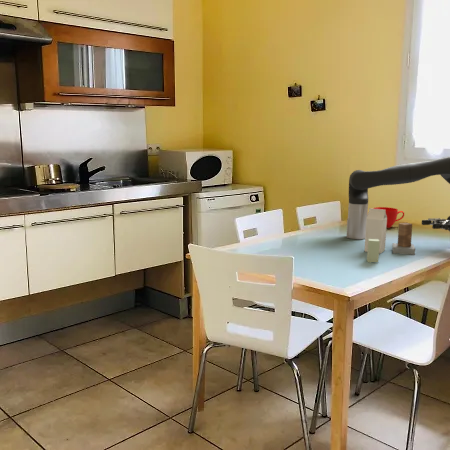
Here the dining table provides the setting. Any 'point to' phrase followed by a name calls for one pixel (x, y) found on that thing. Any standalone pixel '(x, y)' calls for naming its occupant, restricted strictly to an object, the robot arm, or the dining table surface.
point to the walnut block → (404, 234)
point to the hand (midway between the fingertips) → (427, 224)
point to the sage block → (373, 250)
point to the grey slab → (403, 249)
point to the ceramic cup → (391, 215)
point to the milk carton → (376, 227)
